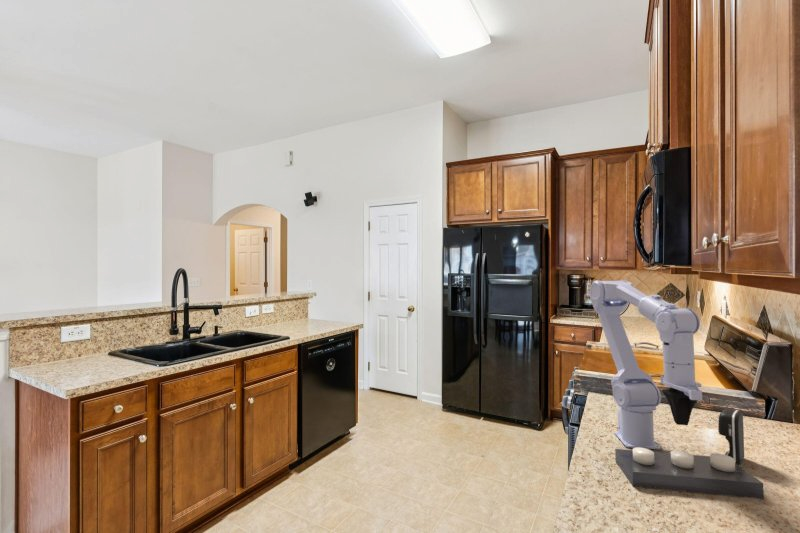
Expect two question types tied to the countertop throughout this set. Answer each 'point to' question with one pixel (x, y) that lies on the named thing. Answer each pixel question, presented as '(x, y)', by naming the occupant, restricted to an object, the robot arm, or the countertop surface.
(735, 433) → the battery charger
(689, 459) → the knob mid
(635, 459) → the knob
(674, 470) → the mount plate
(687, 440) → the countertop surface
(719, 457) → the knob
